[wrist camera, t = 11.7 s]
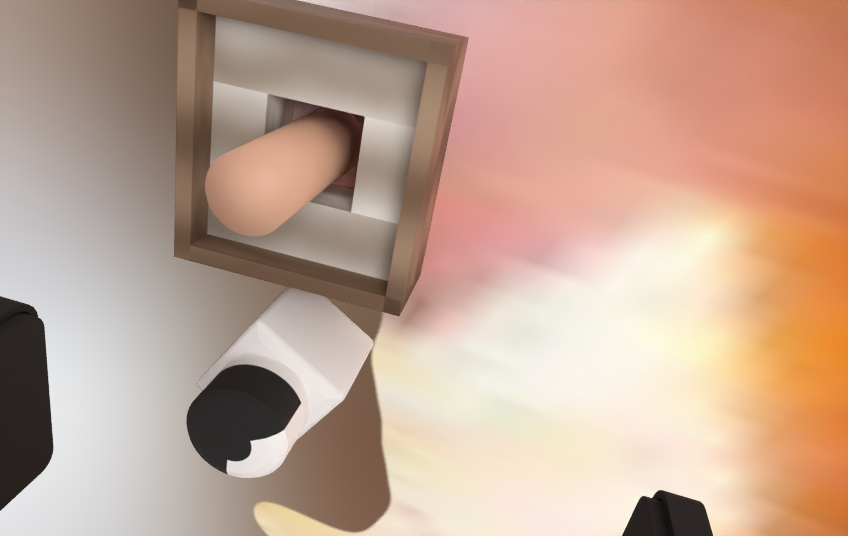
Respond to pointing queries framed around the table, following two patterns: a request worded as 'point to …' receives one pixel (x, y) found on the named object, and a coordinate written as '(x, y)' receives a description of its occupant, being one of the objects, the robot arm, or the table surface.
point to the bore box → (273, 107)
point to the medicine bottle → (275, 383)
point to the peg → (281, 171)
